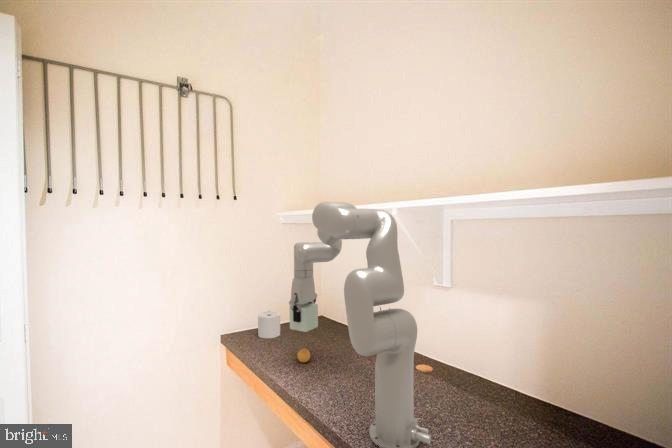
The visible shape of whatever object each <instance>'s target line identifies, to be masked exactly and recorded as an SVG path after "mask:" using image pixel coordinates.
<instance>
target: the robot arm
mask: <svg viewBox="0 0 672 448" xmlns="http://www.w3.org/2000/svg"><path fill="white" fill-rule="evenodd" d="M311 219H312V224H313V226H314V227H315V228H316V229H317V230H316V231H317V233H316V234H317V237H318V238H319V240H320V242H317V241H316V242H304V241H303V242H296V243H295V244H294V245H293V278H292V283H291V289H290V300H289V302H288V305H289V308H290V307H291V309H292V311H293V321H294V322H301V312H299V311H300V308H301V305H303V304H306V303H311V304H316V302H317V298H318V294H317V293H316V288H315V277H314V263H327V262H332V261H333V260H334V259H336V257H337V256H338V255H339V254H340V253H341V250H342V245H343V240H364V239H370V240H369V241H368V244H367V247H366V250H365V255H366V256H365V257H366V261H367V267H365V268H364V267H363V268H357V269H354V270H352V271H350V272H349V273H348V274H347V276H346V278H345V281H344V285H343V292H344V293H343V294H344V295H343V296H344V304H345V312H346V320H347V329H348V335H349V340H350V343H351V346H352V348H353V349H354V351H355V353H357V354H358V355H359V356H363V357H370V356H375V355H377V356H376V359H375V365H374V396H375V397H374V405H375V406H374V408H375V409H374V411H375V414H374V416H375V417H374V418H375V420H374V421H373V422H372V423H371V424H370V426H369V430H368V431H369V432H368V433H369V438H370V440H371V441H372V443H373V442H374V443H375V445H376V446H377V445H378V446H379V447H378V446H377V447H378V448H380V447H381V448H417V447H418V446H419V444H420V443H424V444H427V445H430V444H431V443H432V442H431V441H432V435H431V434H429V431H430V430H429V428H426V427H421V426H420V425H419V424H418V418H417V417H414V414H415V413H414V411H415V410H414V405H415V403H414V397H415V396H414V395H415V394H414V369H415V368H414V362H415V361H414V359H415V358H414V357H415V350H416V343H417V338H418V325H417V321H416V319H415V316H414V315H413V314H412V313H410V311H408V310H406V309H403V308H390V309H389V308H388V309H384V310H382V309H381V310H377V311H374V307H378V306H384V305H390V304H393V303H397V302H399V301H400V300H402V299H403V296H404V295H405V285H404V284H405V283H404V278H403V272H402V271H403V270H402V264H401V260H400V255H399V249H398V248H399V247H398V226H397V222H396V219H395V217H394V216H393V215H392V214H391V213H390V212H388V211H386V210H385V209H384V210H382V209H378V208H377V209H376V208H357V207H356V206H355V205H354V204H352V203H349V202H343V201H342V202H341V201H322V202H320V203H317V205H315V207H314V209H313V211H312V215H311ZM297 305H298V308H297V307H296V306H297Z"/></svg>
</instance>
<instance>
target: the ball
mask: <svg viewBox="0 0 672 448" xmlns="http://www.w3.org/2000/svg"><path fill="white" fill-rule="evenodd" d="M310 358H311V353H310V350H309V349H308V348H301V349H299V351H298V352H297V360H298V361H299V362H301V363H307V362H308V361H309V360H310Z"/></svg>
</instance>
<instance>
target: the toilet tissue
mask: <svg viewBox="0 0 672 448" xmlns="http://www.w3.org/2000/svg"><path fill="white" fill-rule="evenodd" d="M257 336H258V338H260V339H275V338H277V337H280V336H281V313H280V312H277V311H271V310H267V311H264V312H261V313H259V314H258V316H257Z"/></svg>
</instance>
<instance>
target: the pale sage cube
mask: <svg viewBox="0 0 672 448" xmlns="http://www.w3.org/2000/svg"><path fill="white" fill-rule="evenodd" d="M296 307H297V308H298V305H297V306H296ZM299 312H301V322H294V321H293V311H292V309H291V307H290V306H289V329H290V330H292V331H299V332H303V333H305V332H306V333H307V332H309V331H311V330H314V329H316V328H318V327H319V304H318V303H315V304H311V303H306V304H303V305H301V308H300V311H299Z"/></svg>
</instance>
